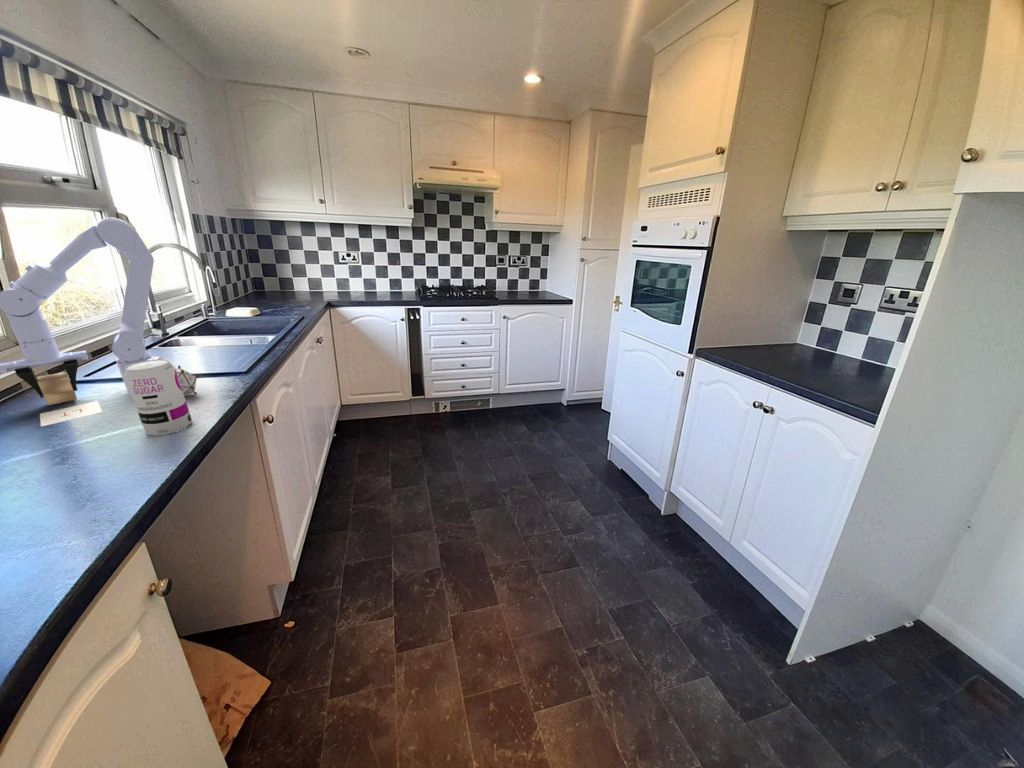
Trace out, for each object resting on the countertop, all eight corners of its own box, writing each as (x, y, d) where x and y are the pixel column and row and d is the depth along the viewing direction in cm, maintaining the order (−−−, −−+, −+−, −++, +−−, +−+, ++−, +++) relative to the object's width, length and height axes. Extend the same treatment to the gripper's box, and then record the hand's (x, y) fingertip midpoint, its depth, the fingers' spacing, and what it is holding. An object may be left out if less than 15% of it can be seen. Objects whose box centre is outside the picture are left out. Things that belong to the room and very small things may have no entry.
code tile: (98, 403, 104) (97, 400, 104) (103, 414, 98) (102, 411, 97) (40, 415, 97) (39, 413, 97) (41, 428, 91) (40, 426, 91)
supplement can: (186, 416, 96) (166, 356, 91) (197, 427, 91) (177, 363, 86) (142, 429, 90) (117, 365, 85) (151, 441, 85) (126, 373, 80)
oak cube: (75, 393, 105) (66, 371, 103) (77, 399, 102) (67, 376, 100) (47, 399, 102) (36, 377, 100) (48, 405, 99) (37, 382, 97)
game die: (179, 413, 107) (138, 391, 100) (189, 391, 113) (151, 369, 106) (205, 396, 106) (166, 373, 99) (214, 375, 112) (177, 352, 105)
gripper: (77, 331, 104) (97, 381, 109) (-11, 343, 94) (15, 397, 99) (80, 336, 100) (100, 387, 105) (-13, 349, 90) (15, 405, 95)
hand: (59, 393), depth 102 cm, fingers closed on oak cube, 5 cm apart
